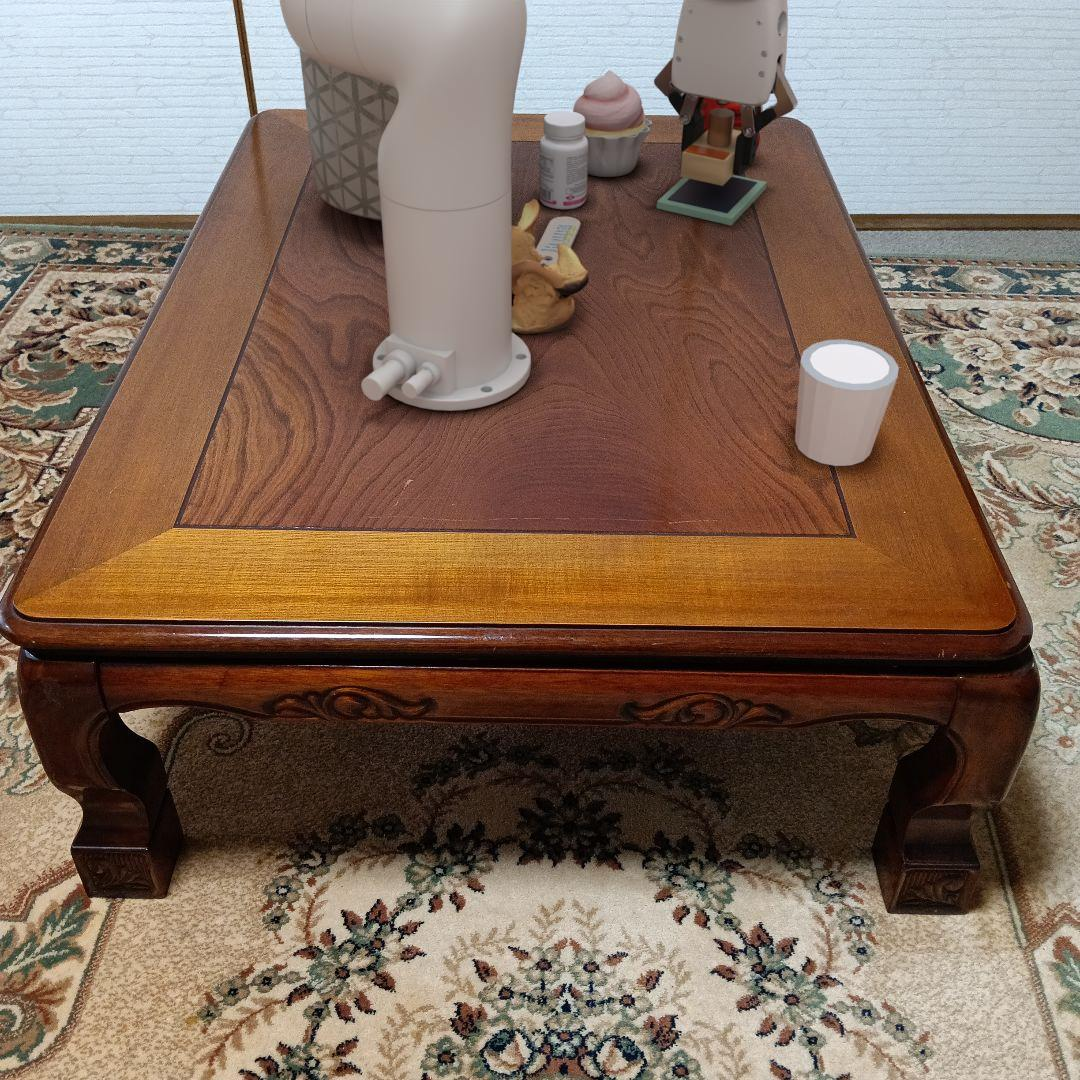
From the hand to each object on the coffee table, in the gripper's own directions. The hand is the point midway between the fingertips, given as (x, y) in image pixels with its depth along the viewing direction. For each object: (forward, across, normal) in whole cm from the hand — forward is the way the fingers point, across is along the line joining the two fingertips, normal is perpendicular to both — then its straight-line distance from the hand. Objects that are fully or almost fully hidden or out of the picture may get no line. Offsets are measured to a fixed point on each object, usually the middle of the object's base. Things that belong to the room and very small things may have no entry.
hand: (716, 163), depth 120 cm
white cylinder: (+4, -24, +36) cm, 44 cm away
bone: (+4, +5, +30) cm, 30 cm away
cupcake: (+4, +13, -2) cm, 14 cm away
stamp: (0, 0, 0) cm, 0 cm away
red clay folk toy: (+4, +3, -10) cm, 11 cm away
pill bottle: (+4, +13, +8) cm, 16 cm away
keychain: (+4, +9, +17) cm, 20 cm away
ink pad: (+4, 0, 0) cm, 4 cm away
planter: (+4, +25, +17) cm, 31 cm away
